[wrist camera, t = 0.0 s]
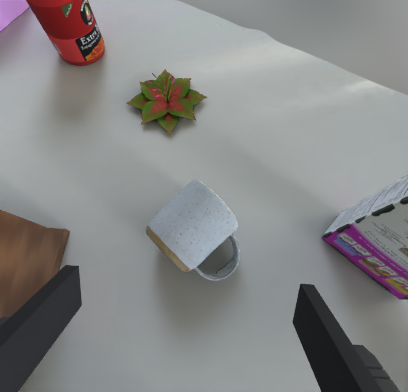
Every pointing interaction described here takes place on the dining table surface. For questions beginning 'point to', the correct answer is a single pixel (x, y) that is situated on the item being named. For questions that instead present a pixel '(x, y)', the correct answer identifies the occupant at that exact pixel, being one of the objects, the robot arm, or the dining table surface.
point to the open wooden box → (26, 259)
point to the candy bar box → (377, 236)
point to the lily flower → (166, 100)
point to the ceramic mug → (195, 229)
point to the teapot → (11, 11)
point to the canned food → (70, 29)
